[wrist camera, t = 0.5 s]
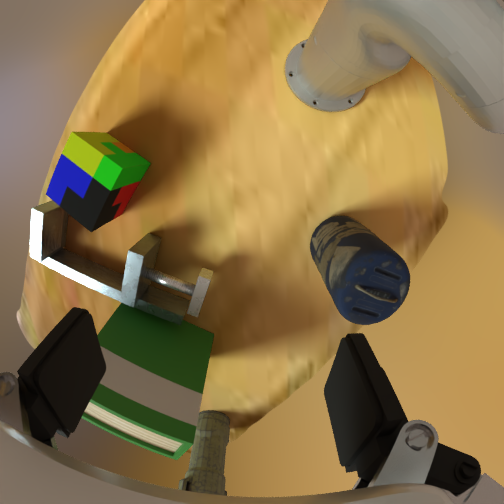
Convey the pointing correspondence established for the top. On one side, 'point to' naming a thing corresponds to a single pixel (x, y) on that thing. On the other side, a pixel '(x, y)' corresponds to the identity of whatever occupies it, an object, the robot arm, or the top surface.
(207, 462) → the stone tower
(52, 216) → the vise body
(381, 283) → the canister
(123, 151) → the puzzle toy
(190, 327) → the hardback book
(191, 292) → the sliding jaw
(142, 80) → the top surface
